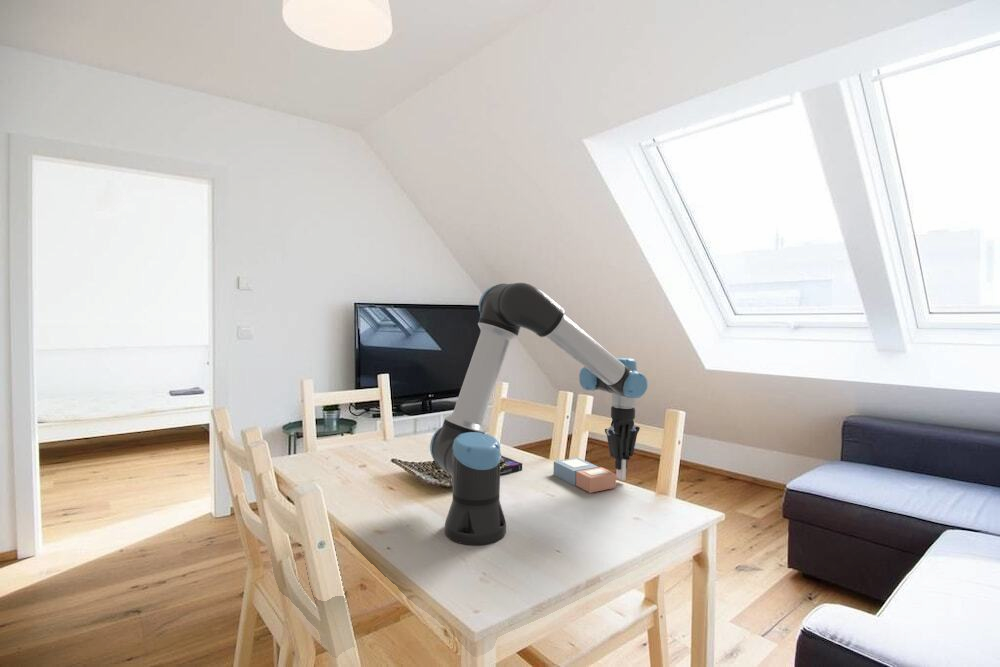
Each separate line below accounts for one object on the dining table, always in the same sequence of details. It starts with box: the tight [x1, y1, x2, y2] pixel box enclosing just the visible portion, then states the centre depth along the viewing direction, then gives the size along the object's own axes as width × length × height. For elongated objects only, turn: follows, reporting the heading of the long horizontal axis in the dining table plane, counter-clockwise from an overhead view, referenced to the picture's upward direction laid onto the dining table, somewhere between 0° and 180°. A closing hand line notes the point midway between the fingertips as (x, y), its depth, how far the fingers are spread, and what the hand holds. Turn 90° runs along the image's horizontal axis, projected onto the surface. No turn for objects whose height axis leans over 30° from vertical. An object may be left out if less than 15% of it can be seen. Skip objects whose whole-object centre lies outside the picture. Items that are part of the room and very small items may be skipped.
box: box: [500, 455, 523, 477], centre depth 171 cm, size 14×4×20 cm
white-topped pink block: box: [576, 466, 617, 494], centre depth 156 cm, size 7×10×5 cm
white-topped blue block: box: [552, 457, 600, 487], centre depth 165 cm, size 12×10×5 cm
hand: (620, 478), depth 161 cm, fingers closed
